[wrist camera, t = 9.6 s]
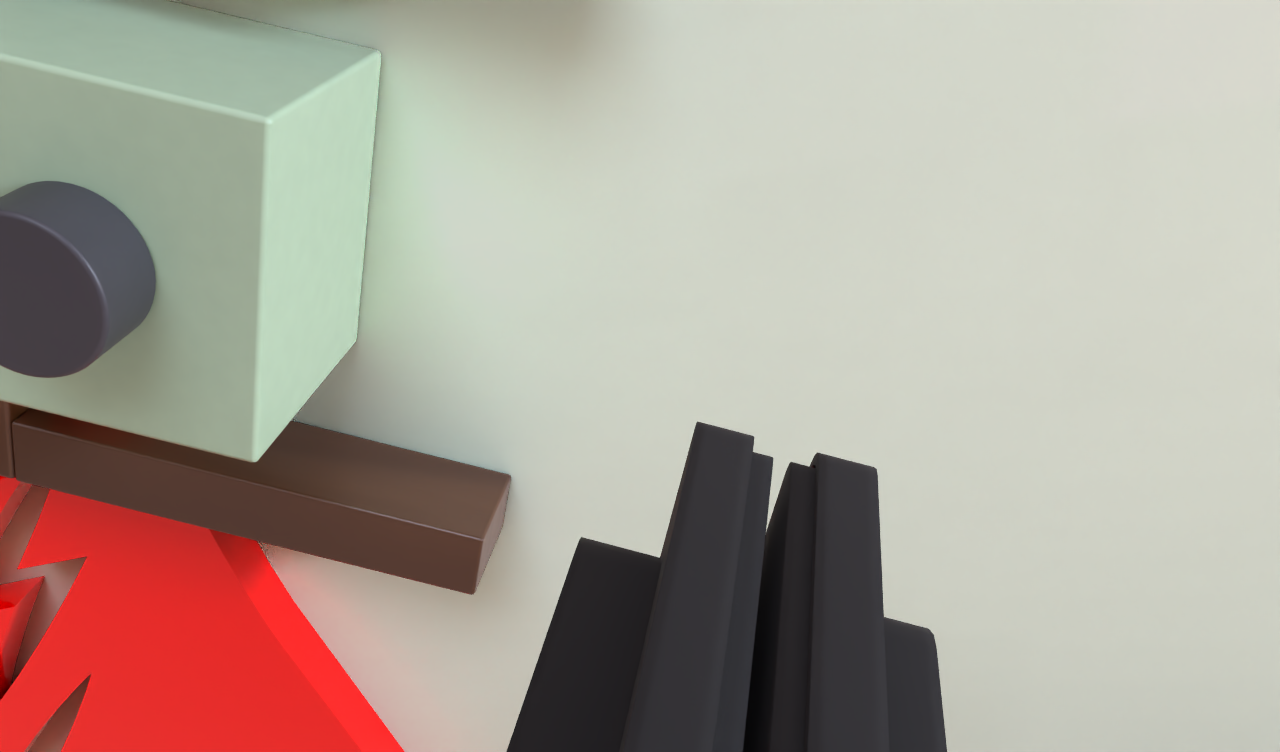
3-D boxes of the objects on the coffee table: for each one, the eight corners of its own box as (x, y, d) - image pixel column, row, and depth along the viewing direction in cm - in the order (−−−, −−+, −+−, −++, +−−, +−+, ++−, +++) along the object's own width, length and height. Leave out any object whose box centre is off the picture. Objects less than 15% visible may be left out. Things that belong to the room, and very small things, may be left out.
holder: (-34, -299, 15) (-142, -310, 14) (621, -146, 15) (597, -137, 13) (19, 407, 21) (-54, 464, 19) (502, 527, 21) (473, 596, 19)
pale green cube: (62, -27, 17) (-215, 42, 12) (384, 49, 17) (224, 147, 12) (75, 273, 19) (-152, 424, 15) (357, 341, 19) (216, 514, 15)
